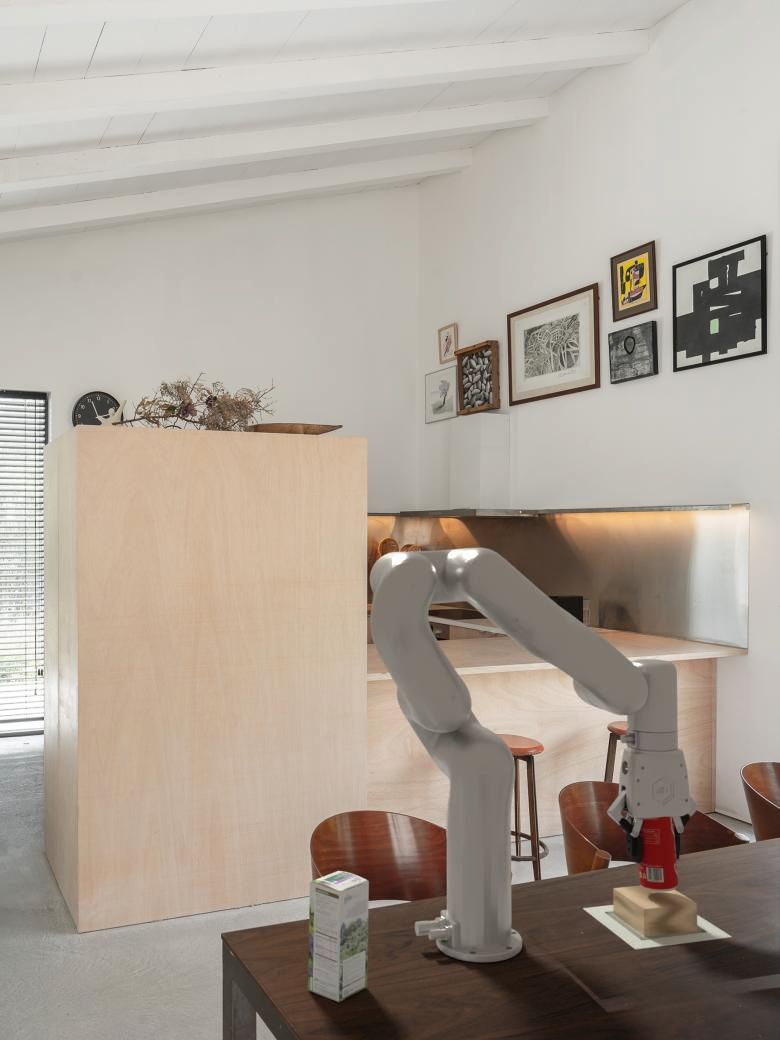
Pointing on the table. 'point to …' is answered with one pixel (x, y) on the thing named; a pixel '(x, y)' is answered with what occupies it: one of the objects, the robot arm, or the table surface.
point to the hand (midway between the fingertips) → (653, 857)
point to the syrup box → (338, 935)
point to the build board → (640, 942)
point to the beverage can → (658, 855)
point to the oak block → (654, 910)
